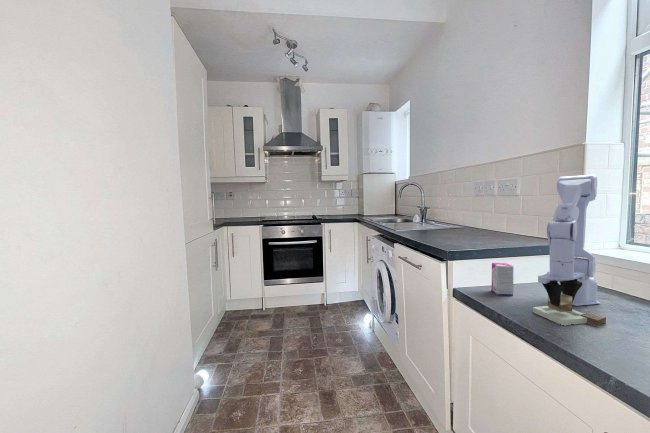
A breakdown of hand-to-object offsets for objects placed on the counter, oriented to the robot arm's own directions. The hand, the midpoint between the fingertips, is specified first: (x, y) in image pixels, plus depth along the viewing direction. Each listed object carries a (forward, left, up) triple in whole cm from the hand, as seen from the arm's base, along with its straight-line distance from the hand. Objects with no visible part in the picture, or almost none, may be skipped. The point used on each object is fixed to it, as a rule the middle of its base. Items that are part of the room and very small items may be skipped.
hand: (561, 304), depth 85 cm
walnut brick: (-5, +5, -4) cm, 8 cm away
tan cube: (0, 0, -2) cm, 2 cm away
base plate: (0, 0, -4) cm, 4 cm away
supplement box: (+1, -23, -4) cm, 23 cm away
